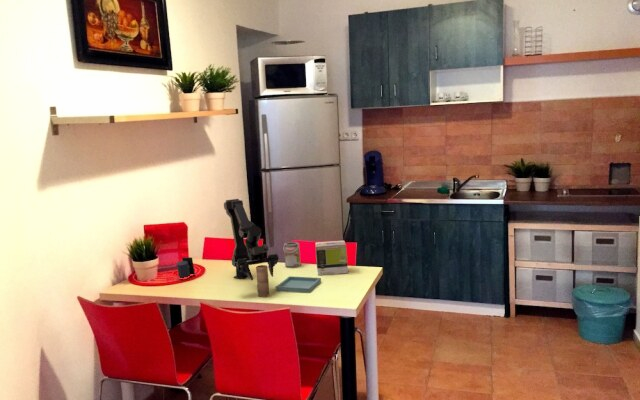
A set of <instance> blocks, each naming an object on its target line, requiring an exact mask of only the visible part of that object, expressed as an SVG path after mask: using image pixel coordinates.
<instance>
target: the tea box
mask: <svg viewBox="0 0 640 400" xmlns="http://www.w3.org/2000/svg"><path fill="white" fill-rule="evenodd" d="M347 250H348V249H347V244H346V242H345V240H331V241H318V242H317V241H316V242H315V259H316V270H317V271H316V272H317V276H322V275H323V276H325V275H336V274H349V271H348V270H349V269H348V266H349V265H348V253H347Z"/></svg>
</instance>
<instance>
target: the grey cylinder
mask: <svg viewBox="0 0 640 400" xmlns="http://www.w3.org/2000/svg"><path fill="white" fill-rule="evenodd" d="M300 249H301V248H300V243H299V242H296V241H289V242H285V243H283V248H282V251H283V252H284V253H283V254H284V265H285V267H286V268H298V267H300V266H301V251H300Z"/></svg>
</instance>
